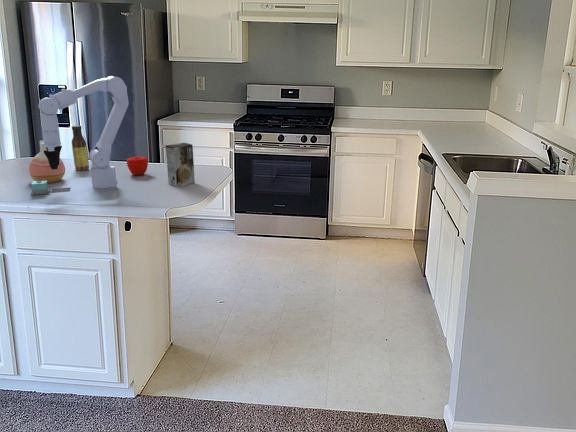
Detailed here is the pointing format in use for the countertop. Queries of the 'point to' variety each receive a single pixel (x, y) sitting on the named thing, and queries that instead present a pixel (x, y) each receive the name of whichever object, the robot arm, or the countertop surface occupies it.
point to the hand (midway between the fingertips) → (55, 167)
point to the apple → (137, 165)
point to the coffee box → (180, 164)
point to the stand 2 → (61, 190)
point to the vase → (45, 168)
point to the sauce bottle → (79, 149)
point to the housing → (39, 187)
